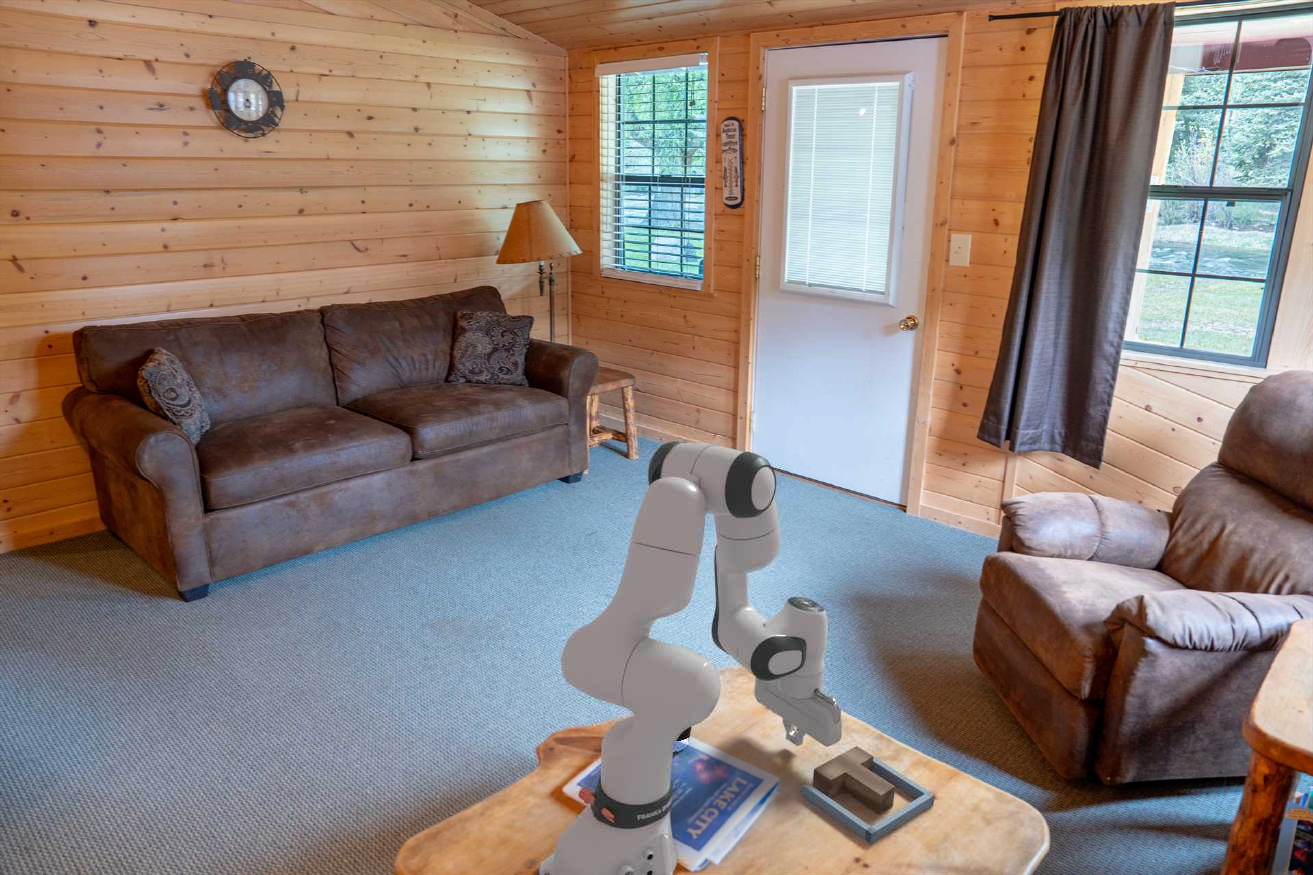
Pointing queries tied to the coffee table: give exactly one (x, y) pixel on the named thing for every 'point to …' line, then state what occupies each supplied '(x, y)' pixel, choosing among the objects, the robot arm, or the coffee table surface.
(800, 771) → the coffee table surface
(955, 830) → the coffee table surface
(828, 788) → the walnut T block
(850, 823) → the slate bay
